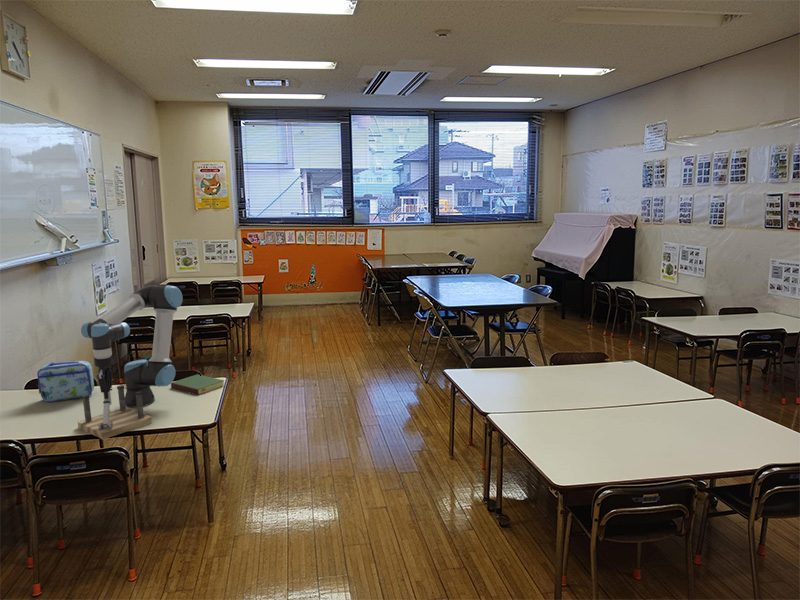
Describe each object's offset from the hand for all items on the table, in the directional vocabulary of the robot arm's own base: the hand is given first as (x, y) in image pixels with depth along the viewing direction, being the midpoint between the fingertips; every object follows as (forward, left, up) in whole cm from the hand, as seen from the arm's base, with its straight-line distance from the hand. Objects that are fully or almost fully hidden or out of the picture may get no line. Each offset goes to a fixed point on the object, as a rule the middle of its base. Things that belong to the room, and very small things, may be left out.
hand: (108, 404), depth 263 cm
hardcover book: (-21, +62, -14) cm, 67 cm away
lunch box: (-66, +9, -13) cm, 68 cm away
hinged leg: (+2, -2, -4) cm, 5 cm away
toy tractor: (-58, +52, -13) cm, 79 cm away
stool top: (-4, +4, -13) cm, 14 cm away
